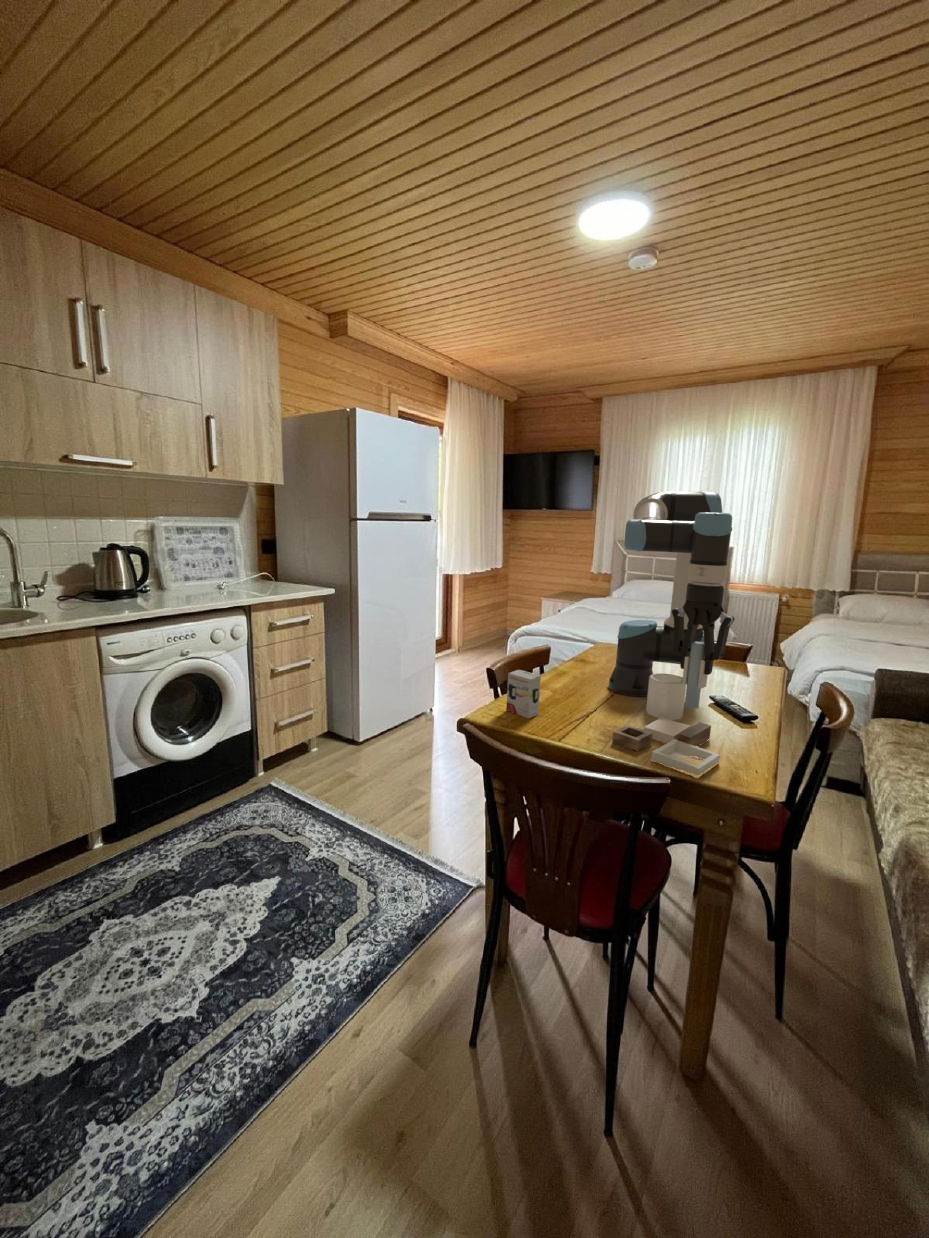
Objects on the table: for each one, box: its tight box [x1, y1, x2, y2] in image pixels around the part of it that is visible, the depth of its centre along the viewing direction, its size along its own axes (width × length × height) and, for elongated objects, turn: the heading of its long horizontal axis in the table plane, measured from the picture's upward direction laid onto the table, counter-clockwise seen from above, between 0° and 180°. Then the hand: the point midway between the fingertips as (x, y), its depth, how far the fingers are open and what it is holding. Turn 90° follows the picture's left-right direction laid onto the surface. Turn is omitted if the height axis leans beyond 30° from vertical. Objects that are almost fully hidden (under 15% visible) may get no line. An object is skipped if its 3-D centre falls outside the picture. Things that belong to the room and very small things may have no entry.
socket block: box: [611, 724, 653, 752], centre depth 137 cm, size 7×7×3 cm
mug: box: [645, 673, 687, 721], centre depth 156 cm, size 14×10×11 cm
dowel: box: [684, 642, 705, 709], centre depth 122 cm, size 3×3×15 cm
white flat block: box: [643, 717, 691, 744], centre depth 142 cm, size 8×10×3 cm
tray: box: [650, 739, 721, 775], centre depth 127 cm, size 11×11×2 cm
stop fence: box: [678, 722, 712, 747], centre depth 137 cm, size 3×12×4 cm, turn 132°
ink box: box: [505, 669, 541, 719], centre depth 155 cm, size 9×5×12 cm, turn 47°
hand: (694, 684), depth 123 cm, fingers closed on dowel, 3 cm apart
